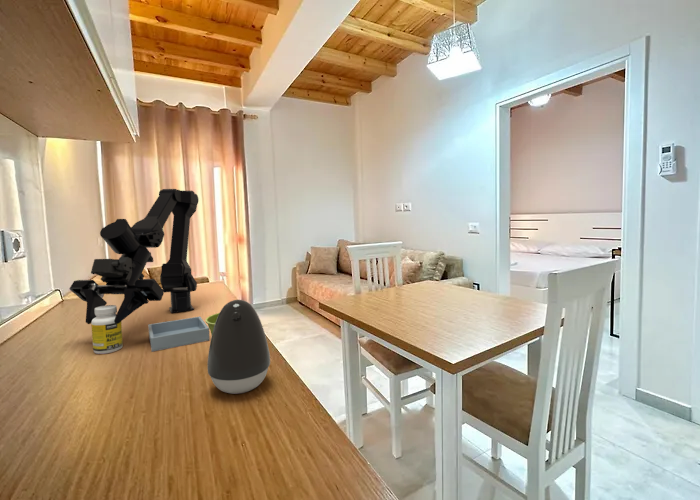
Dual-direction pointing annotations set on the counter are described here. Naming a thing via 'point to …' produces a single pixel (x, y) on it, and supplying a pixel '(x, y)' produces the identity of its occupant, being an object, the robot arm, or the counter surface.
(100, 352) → the supplement bottle
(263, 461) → the counter surface
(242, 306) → the dark grey egg-shaped device
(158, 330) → the tray
